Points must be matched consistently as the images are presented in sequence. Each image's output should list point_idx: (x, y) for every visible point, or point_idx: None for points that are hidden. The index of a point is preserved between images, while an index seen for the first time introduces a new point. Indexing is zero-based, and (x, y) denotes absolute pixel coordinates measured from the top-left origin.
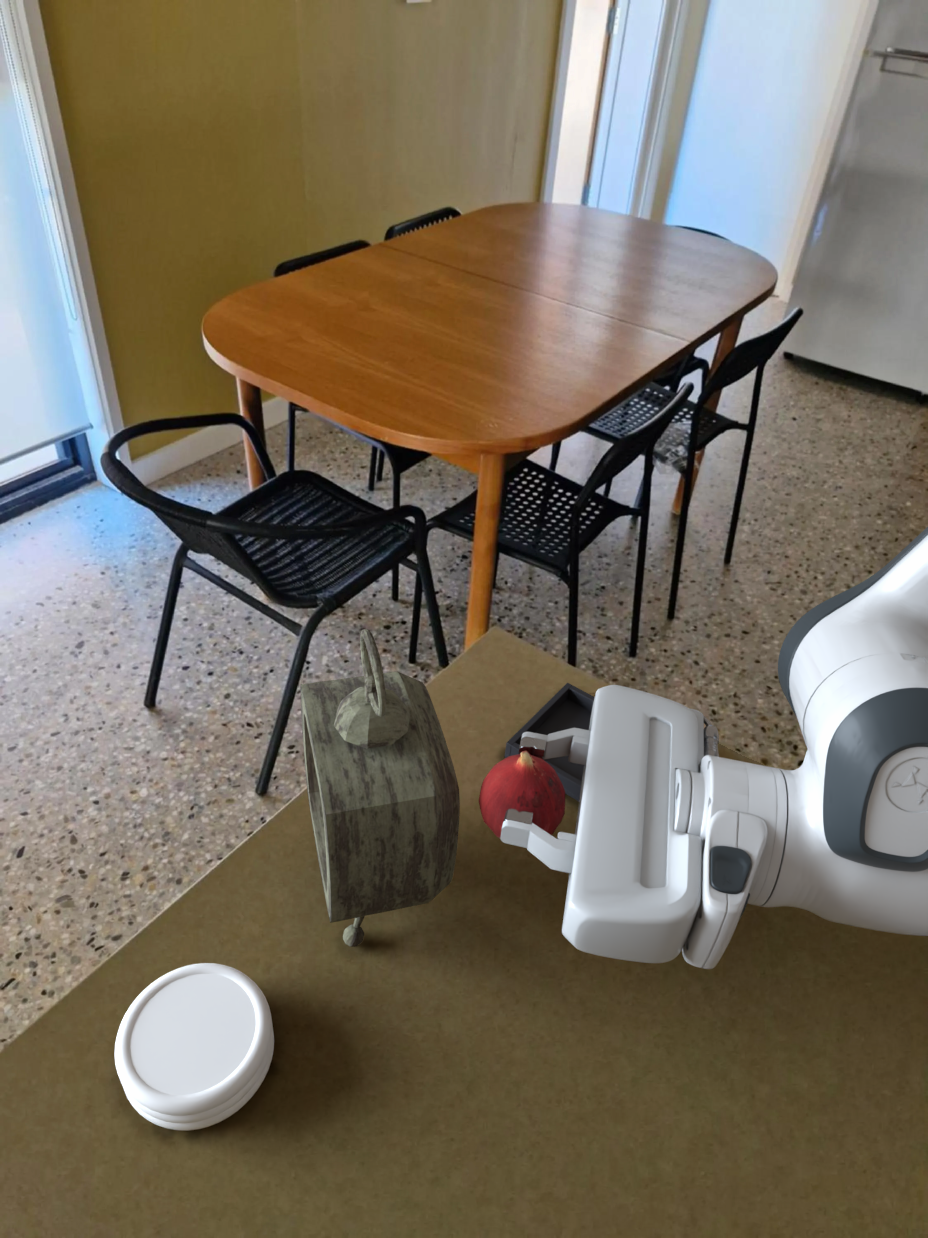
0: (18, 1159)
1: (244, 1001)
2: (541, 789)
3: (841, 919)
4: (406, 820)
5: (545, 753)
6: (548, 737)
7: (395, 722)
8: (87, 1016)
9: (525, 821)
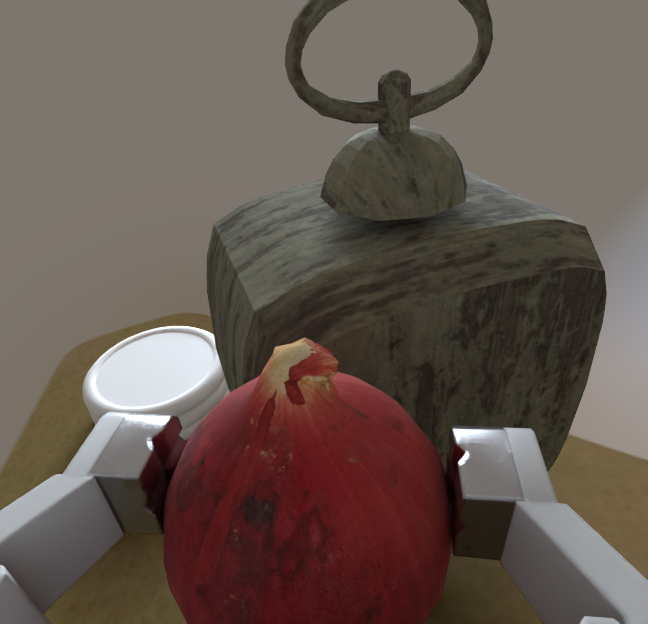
0: (113, 334)
1: (179, 390)
2: (215, 475)
3: None
4: (231, 318)
5: (504, 544)
6: (544, 504)
7: (365, 177)
8: (212, 331)
9: (104, 456)
